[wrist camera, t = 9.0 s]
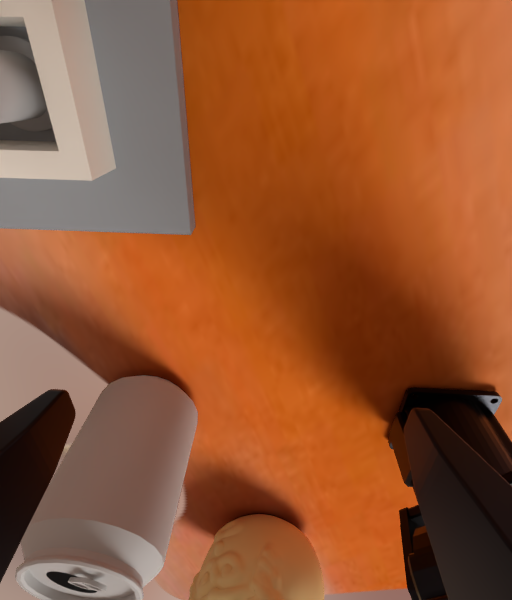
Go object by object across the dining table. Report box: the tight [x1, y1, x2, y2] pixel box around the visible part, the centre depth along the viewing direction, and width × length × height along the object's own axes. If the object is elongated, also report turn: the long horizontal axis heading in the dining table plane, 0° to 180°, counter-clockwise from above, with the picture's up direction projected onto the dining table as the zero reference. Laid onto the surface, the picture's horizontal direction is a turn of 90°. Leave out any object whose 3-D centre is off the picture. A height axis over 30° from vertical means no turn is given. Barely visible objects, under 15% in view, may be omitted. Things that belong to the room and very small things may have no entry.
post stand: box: [0, 0, 195, 235], centre depth 14 cm, size 13×13×5 cm
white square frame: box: [0, 0, 116, 181], centre depth 14 cm, size 6×6×2 cm
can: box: [15, 375, 198, 600], centre depth 22 cm, size 8×8×12 cm
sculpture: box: [189, 514, 324, 600], centre depth 32 cm, size 11×12×11 cm
